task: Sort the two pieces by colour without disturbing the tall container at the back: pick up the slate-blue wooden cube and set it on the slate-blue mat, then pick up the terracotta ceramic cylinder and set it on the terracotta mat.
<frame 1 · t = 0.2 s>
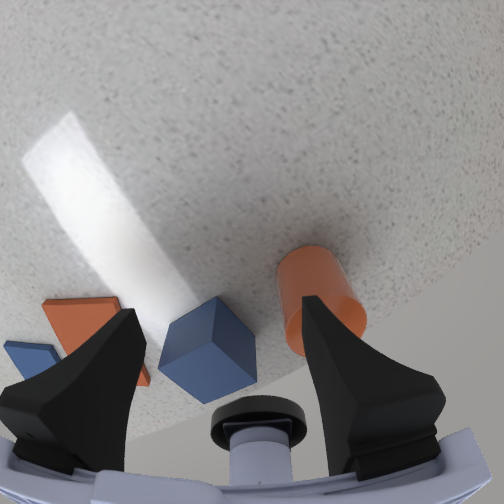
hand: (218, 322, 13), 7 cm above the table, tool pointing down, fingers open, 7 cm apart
terracotta mat: (98, 342, 23), on the table
terracotta cylinder: (308, 275, 20), on the table
blue mat: (47, 375, 25), on the table
blue cube: (212, 330, 22), on the table
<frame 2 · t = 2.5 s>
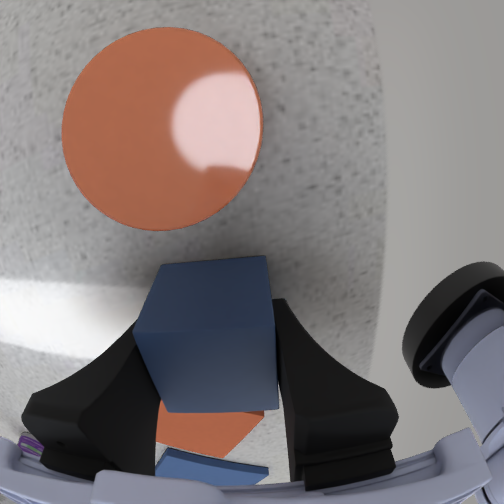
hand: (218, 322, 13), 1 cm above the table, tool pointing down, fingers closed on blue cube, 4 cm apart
terracotta mat: (179, 415, 18), on the table
container: (40, 442, 23), on the table
terracotta cylinder: (193, 118, 11), on the table
blue mat: (206, 472, 23), on the table
blue cube: (219, 303, 14), on the table, touching gripper
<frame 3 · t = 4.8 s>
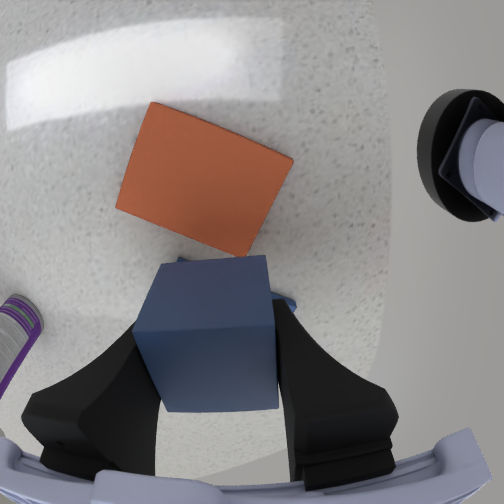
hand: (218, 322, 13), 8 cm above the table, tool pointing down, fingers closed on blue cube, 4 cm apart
terracotta mat: (200, 180, 19), on the table
container: (25, 313, 23), on the table
blue cube: (219, 302, 14), point 7 cm above the table, touching gripper
when the fingers open (2 cm above the table, at t = 7.3 s): blue cube stays where it is, resting on blue mat.
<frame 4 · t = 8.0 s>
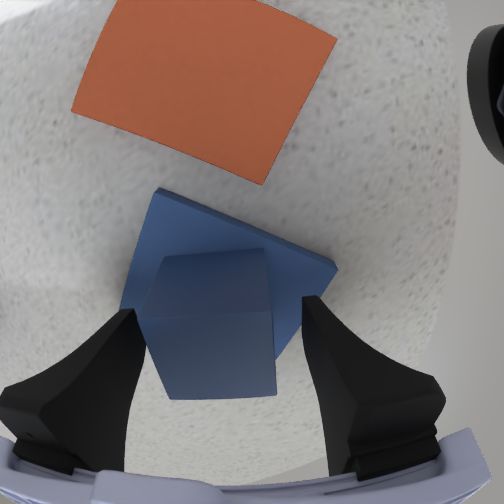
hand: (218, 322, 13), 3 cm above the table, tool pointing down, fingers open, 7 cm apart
terracotta mat: (197, 66, 11), on the table
blue mat: (221, 285, 15), on the table
blue cube: (219, 294, 15), point 1 cm above the table, touching blue mat
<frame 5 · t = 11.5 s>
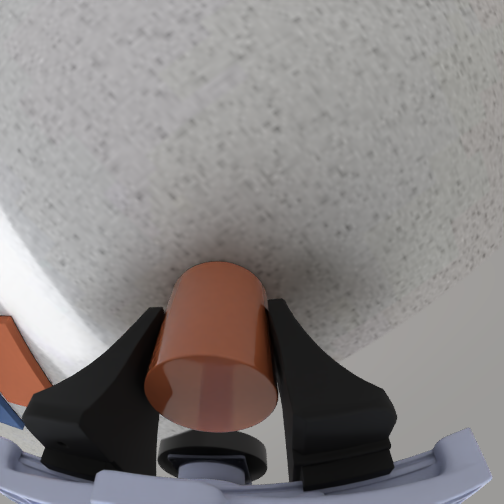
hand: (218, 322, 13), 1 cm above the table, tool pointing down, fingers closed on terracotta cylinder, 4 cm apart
terracotta mat: (9, 363, 17), on the table
terracotta cylinder: (219, 303, 14), on the table, touching gripper
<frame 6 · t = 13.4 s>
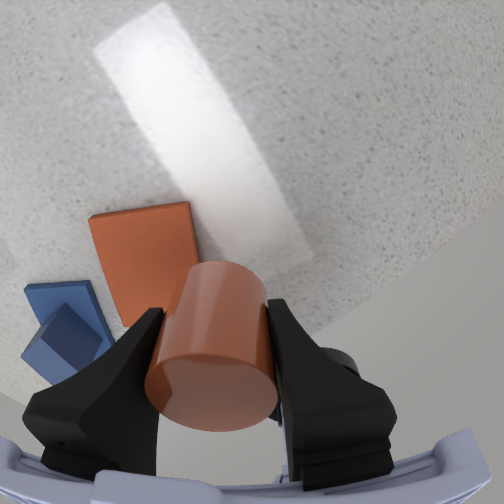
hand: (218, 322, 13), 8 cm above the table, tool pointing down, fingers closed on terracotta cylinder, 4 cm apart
terracotta mat: (152, 268, 21), on the table
terracotta cylinder: (219, 302, 14), point 7 cm above the table, touching gripper
blue mat: (75, 326, 24), on the table
blue cube: (71, 331, 23), point 1 cm above the table, touching blue mat
when the fingers open (2 cm above the table, at t = 15.8 s): terracotta cylinder stays where it is, resting on terracotta mat.
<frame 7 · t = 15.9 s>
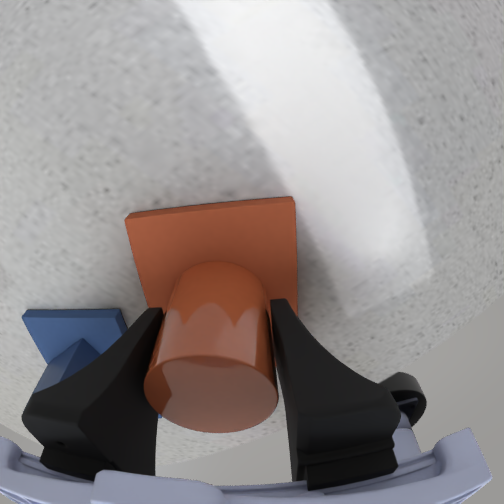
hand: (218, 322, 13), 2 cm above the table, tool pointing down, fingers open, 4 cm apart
terracotta mat: (221, 294, 15), on the table
terracotta cylinder: (219, 303, 14), point 1 cm above the table, touching terracotta mat
blue mat: (95, 365, 17), on the table
blue cube: (91, 373, 16), point 1 cm above the table, touching blue mat
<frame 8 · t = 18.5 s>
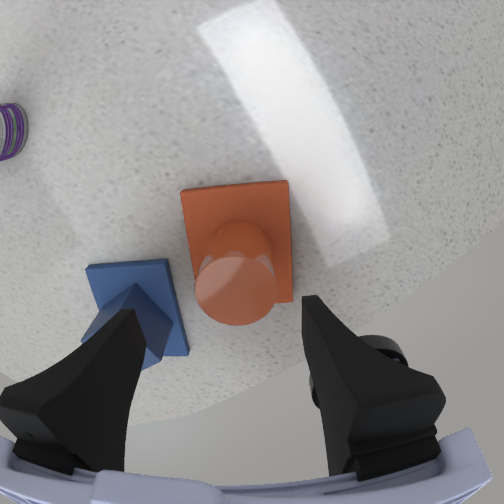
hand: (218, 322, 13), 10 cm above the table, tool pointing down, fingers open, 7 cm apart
terracotta mat: (240, 246, 22), on the table
container: (10, 130, 18), on the table
terracotta cylinder: (239, 250, 22), point 1 cm above the table, touching terracotta mat
blue mat: (139, 310, 25), on the table
blue cube: (136, 315, 24), point 1 cm above the table, touching blue mat
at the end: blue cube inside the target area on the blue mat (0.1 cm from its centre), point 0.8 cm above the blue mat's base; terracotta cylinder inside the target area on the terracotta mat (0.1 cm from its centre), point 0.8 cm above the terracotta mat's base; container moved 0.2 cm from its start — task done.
